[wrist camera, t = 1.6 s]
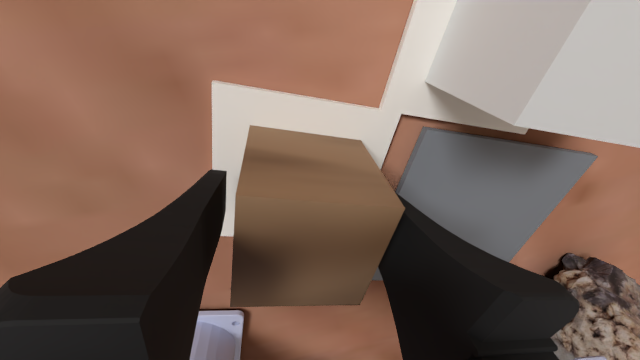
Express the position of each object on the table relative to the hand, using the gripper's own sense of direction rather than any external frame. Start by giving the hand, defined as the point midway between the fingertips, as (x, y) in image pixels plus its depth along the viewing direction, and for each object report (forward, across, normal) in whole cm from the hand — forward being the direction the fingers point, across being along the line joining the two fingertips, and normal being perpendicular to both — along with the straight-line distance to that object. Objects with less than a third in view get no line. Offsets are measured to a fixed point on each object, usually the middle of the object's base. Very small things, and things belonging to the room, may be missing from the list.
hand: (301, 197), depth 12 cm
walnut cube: (+1, 0, 0) cm, 1 cm away
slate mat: (+2, -11, +2) cm, 11 cm away
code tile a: (+2, 0, 0) cm, 2 cm away
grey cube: (+1, -7, -8) cm, 11 cm away
